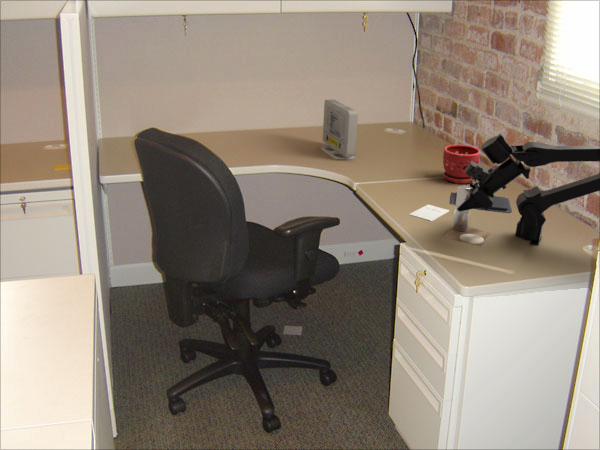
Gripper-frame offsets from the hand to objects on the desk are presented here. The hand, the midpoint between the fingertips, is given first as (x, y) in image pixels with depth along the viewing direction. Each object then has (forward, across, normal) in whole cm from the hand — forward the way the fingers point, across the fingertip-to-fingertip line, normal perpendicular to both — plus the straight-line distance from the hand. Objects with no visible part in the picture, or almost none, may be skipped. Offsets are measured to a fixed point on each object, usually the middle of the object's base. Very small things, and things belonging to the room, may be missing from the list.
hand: (457, 207), depth 188 cm
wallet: (0, -28, +12) cm, 31 cm away
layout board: (+3, +4, +8) cm, 9 cm away
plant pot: (+4, -51, +7) cm, 52 cm away
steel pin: (+4, 0, +6) cm, 7 cm away
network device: (+39, -73, -28) cm, 87 cm away
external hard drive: (+12, -11, 0) cm, 16 cm away
